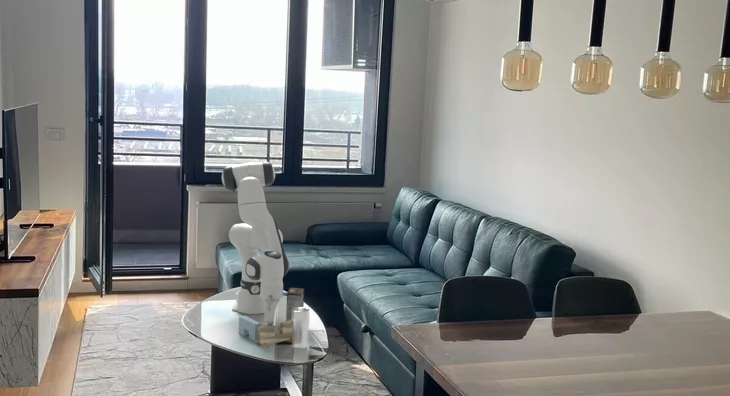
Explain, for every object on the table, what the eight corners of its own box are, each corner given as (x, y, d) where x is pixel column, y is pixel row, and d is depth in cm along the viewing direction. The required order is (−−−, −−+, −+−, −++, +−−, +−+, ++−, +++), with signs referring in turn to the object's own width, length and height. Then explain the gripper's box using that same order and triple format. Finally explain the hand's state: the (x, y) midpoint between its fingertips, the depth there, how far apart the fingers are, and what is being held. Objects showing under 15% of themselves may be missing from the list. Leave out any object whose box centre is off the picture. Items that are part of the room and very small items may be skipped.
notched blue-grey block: (238, 333, 280) (239, 316, 279) (243, 332, 281) (244, 315, 281) (254, 341, 271) (255, 324, 270) (260, 340, 273) (260, 323, 272)
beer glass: (305, 351, 263) (307, 312, 262) (287, 348, 265) (289, 310, 263) (310, 345, 270) (312, 307, 268) (293, 343, 272) (294, 306, 270)
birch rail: (255, 343, 269) (255, 325, 268) (288, 335, 280) (289, 318, 279) (264, 347, 265) (264, 330, 264) (297, 339, 276) (298, 322, 275)
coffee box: (288, 324, 295) (289, 287, 292) (303, 325, 294) (304, 288, 292) (285, 330, 286) (286, 292, 283) (300, 331, 285) (302, 293, 283)
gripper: (277, 300, 263) (276, 335, 265) (281, 286, 283) (280, 318, 285) (261, 299, 263) (259, 334, 265) (265, 285, 283) (264, 318, 285)
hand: (270, 326), depth 275 cm, fingers open, 4 cm apart
